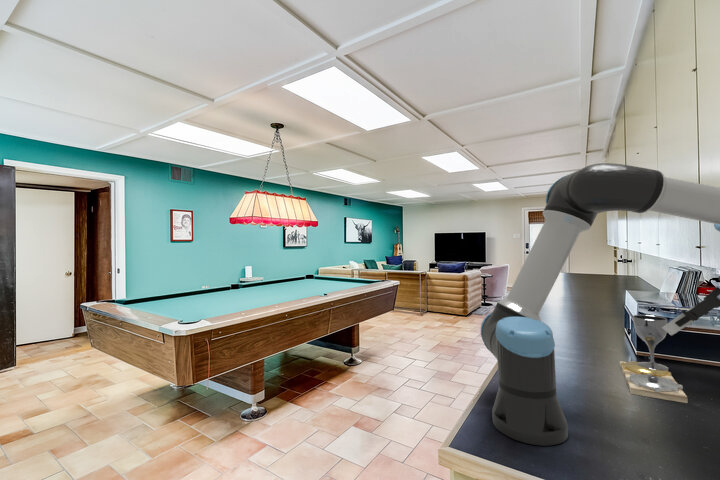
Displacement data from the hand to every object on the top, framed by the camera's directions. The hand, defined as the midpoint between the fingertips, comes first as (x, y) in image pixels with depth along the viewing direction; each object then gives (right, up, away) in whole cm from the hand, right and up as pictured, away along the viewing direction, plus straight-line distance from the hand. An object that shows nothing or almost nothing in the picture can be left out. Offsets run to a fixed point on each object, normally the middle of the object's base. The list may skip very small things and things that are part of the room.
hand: (672, 327), depth 95 cm
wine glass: (-1, -14, +5) cm, 15 cm away
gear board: (-7, -16, 0) cm, 17 cm away
